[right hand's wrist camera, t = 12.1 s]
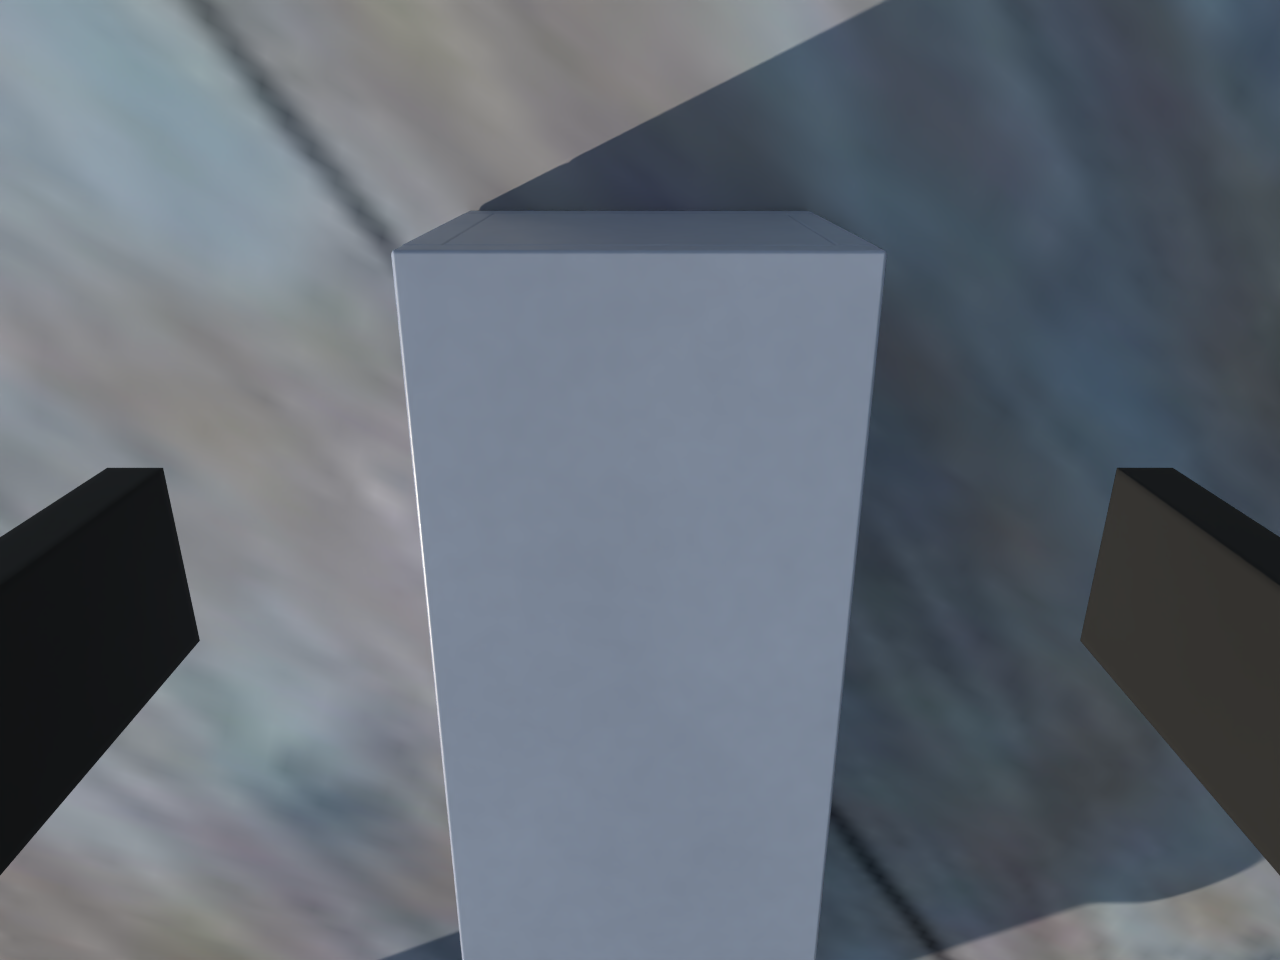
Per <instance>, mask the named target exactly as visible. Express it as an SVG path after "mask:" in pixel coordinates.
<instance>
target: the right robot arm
mask: <svg viewBox="0 0 1280 960" xmlns="http://www.w3.org/2000/svg"><path fill="white" fill-rule="evenodd" d="M199 641H200V640H199V635H198V630H197V626H196V621H195V616H194V612H193V607H192V602H191V597H190V593H189V588H188V583H187V579H186V574H185V569H184V565H183V560H182V555H181V550H180V546H179V541H178V536H177V532H176V527H175V522H174V518H173V513H172V508H171V503H170V499H169V494H168V489H167V485H166V480H165V475H164V471H163V468H106V469H105V470H103V471H102V472H100V473H99V474H97V475H96V476H94V477H93V478H91V479H89V480H88V481H86V482H85V483H83V484H82V485H80V486H79V487H77V488H76V489H74V490H72V491H71V492H69V493H68V494H66V495H65V496H63V497H62V498H60V499H59V500H57V501H55V502H54V503H52V504H51V505H49V506H48V507H46V508H45V509H43V510H42V511H40V512H39V513H37V514H35V515H34V516H32V517H31V518H29V519H28V520H26V521H25V522H23V523H22V524H20V525H18V526H17V527H15V528H14V529H12V530H11V531H9V532H8V533H6V534H5V535H3V536H2V537H0V875H1V874H2V873H3V871H4V870H5V869H6V868H7V867H8V866H9V864H10V863H11V862H12V861H13V860H14V858H15V857H16V856H17V855H18V854H19V853H20V851H21V850H22V849H23V848H24V847H25V846H26V844H27V843H28V842H29V841H30V840H31V838H32V837H33V836H34V835H35V834H36V833H37V831H38V830H39V829H40V828H41V827H42V826H43V824H44V823H45V822H46V821H47V820H48V818H49V817H50V816H51V815H52V814H53V813H54V811H55V810H56V809H57V808H58V807H59V806H60V804H61V803H62V802H63V801H64V800H65V798H66V797H67V796H68V795H69V794H70V793H71V791H72V790H73V789H74V788H75V787H76V786H77V784H78V783H79V782H80V781H81V780H82V778H83V777H84V776H85V775H86V774H87V773H88V771H89V770H90V769H91V768H92V767H93V766H94V764H95V763H96V762H97V761H98V760H99V758H100V757H101V756H102V755H103V754H104V753H105V751H106V750H107V749H108V748H109V747H110V746H111V744H112V743H113V742H114V741H115V740H116V738H117V737H118V736H119V735H120V734H121V733H122V731H123V730H124V729H125V728H126V727H127V726H128V724H129V723H130V722H131V721H132V720H133V718H134V717H135V716H136V715H137V714H138V713H139V711H140V710H141V709H142V708H143V707H144V706H145V704H146V703H147V702H148V701H149V700H150V698H151V697H152V696H153V695H154V694H155V693H156V691H157V690H158V689H159V688H160V687H161V686H162V684H163V683H164V682H165V681H166V680H167V678H168V677H169V676H170V675H171V674H172V673H173V671H174V670H175V669H176V668H177V667H178V666H179V664H180V663H181V662H182V661H183V660H184V658H185V657H186V656H187V655H188V654H189V653H190V651H191V650H192V649H193V648H194V647H195V646H196V644H197V643H198V642H199ZM1080 641H1081V642H1082V643H1083V644H1084V646H1085V647H1086V648H1087V649H1088V650H1089V651H1090V653H1091V654H1092V655H1093V656H1094V657H1095V658H1096V660H1097V661H1098V662H1099V663H1100V664H1101V666H1102V667H1103V668H1104V669H1105V670H1106V671H1107V673H1108V674H1109V675H1110V676H1111V677H1112V678H1113V680H1114V681H1115V682H1116V683H1117V684H1118V686H1119V687H1120V688H1121V689H1122V690H1123V691H1124V693H1125V694H1126V695H1127V696H1128V697H1129V698H1130V700H1131V701H1132V702H1133V703H1134V704H1135V706H1136V707H1137V708H1138V709H1139V710H1140V711H1141V713H1142V714H1143V715H1144V716H1145V717H1146V718H1147V720H1148V721H1149V722H1150V723H1151V724H1152V726H1153V727H1154V728H1155V729H1156V730H1157V731H1158V733H1159V734H1160V735H1161V736H1162V737H1163V738H1164V740H1165V741H1166V742H1167V743H1168V744H1169V746H1170V747H1171V748H1172V749H1173V750H1174V751H1175V753H1176V754H1177V755H1178V756H1179V757H1180V758H1181V760H1182V761H1183V762H1184V763H1185V764H1186V766H1187V767H1188V768H1189V769H1190V770H1191V771H1192V773H1193V774H1194V775H1195V776H1196V777H1197V778H1198V780H1199V781H1200V782H1201V783H1202V784H1203V786H1204V787H1205V788H1206V789H1207V790H1208V791H1209V793H1210V794H1211V795H1212V796H1213V797H1214V798H1215V800H1216V801H1217V802H1218V803H1219V804H1220V806H1221V807H1222V808H1223V809H1224V810H1225V811H1226V813H1227V814H1228V815H1229V816H1230V817H1231V818H1232V820H1233V821H1234V822H1235V823H1236V824H1237V826H1238V827H1239V828H1240V829H1241V830H1242V831H1243V833H1244V834H1245V835H1246V836H1247V837H1248V838H1249V840H1250V841H1251V842H1252V843H1253V844H1254V846H1255V847H1256V848H1257V849H1258V850H1259V851H1260V853H1261V854H1262V855H1263V856H1264V857H1265V858H1266V860H1267V861H1268V862H1269V863H1270V864H1271V866H1272V867H1273V868H1274V869H1275V870H1276V871H1277V873H1278V874H1279V875H1280V537H1278V536H1277V535H1275V534H1274V533H1272V532H1271V531H1269V530H1268V529H1266V528H1265V527H1263V526H1262V525H1260V524H1258V523H1257V522H1255V521H1254V520H1252V519H1251V518H1249V517H1248V516H1246V515H1245V514H1243V513H1241V512H1240V511H1238V510H1237V509H1235V508H1234V507H1232V506H1231V505H1229V504H1228V503H1226V502H1225V501H1223V500H1221V499H1220V498H1218V497H1217V496H1215V495H1214V494H1212V493H1211V492H1209V491H1208V490H1206V489H1204V488H1203V487H1201V486H1200V485H1198V484H1197V483H1195V482H1194V481H1192V480H1191V479H1189V478H1187V477H1186V476H1184V475H1183V474H1181V473H1180V472H1178V471H1177V470H1175V469H1174V468H1117V471H1116V475H1115V480H1114V485H1113V489H1112V494H1111V499H1110V503H1109V508H1108V513H1107V518H1106V522H1105V527H1104V532H1103V536H1102V541H1101V546H1100V550H1099V555H1098V560H1097V565H1096V569H1095V574H1094V579H1093V583H1092V588H1091V593H1090V597H1089V602H1088V607H1087V612H1086V616H1085V621H1084V626H1083V630H1082V635H1081V640H1080Z"/></svg>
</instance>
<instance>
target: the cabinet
mask: <svg viewBox="0 0 1280 960" xmlns="http://www.w3.org/2000/svg"><path fill="white" fill-rule="evenodd" d="M391 256H392V265H393V275H394V285H395V295H396V305H397V315H398V325H399V335H400V345H401V355H402V365H403V375H404V385H405V395H406V405H407V415H408V425H409V435H410V445H411V454H412V464H413V474H414V484H415V494H416V504H417V514H418V524H419V534H420V544H421V554H422V564H423V574H424V584H425V594H426V604H427V614H428V624H429V634H430V643H431V653H432V663H433V673H434V683H435V693H436V703H437V713H438V723H439V733H440V743H441V753H442V763H443V773H444V783H445V793H446V803H447V813H448V822H449V832H450V842H451V852H452V862H453V872H454V882H455V892H456V902H457V912H458V922H459V932H460V942H461V952H462V960H816V953H817V943H818V933H819V923H820V913H821V903H822V893H823V883H824V873H825V864H826V854H827V844H828V834H829V824H830V814H831V804H832V794H833V784H834V774H835V764H836V754H837V745H838V735H839V725H840V715H841V705H842V695H843V685H844V675H845V665H846V655H847V645H848V635H849V626H850V616H851V606H852V596H853V586H854V576H855V566H856V556H857V546H858V536H859V526H860V516H861V506H862V497H863V487H864V477H865V467H866V457H867V447H868V437H869V427H870V417H871V407H872V397H873V387H874V378H875V368H876V358H877V348H878V338H879V328H880V318H881V308H882V298H883V288H884V278H885V268H886V258H887V253H886V251H885V250H883V249H881V248H879V247H877V246H876V245H874V244H872V243H870V242H868V241H866V240H864V239H862V238H860V237H858V236H856V235H855V234H853V233H851V232H849V231H847V230H845V229H843V228H841V227H839V226H837V225H835V224H833V223H832V222H830V221H828V220H826V219H824V218H822V217H820V216H818V215H816V214H814V213H812V212H810V211H469V212H467V213H465V214H463V215H461V216H459V217H457V218H455V219H453V220H451V221H449V222H447V223H445V224H443V225H441V226H439V227H437V228H435V229H433V230H431V231H429V232H427V233H425V234H423V235H421V236H419V237H417V238H415V239H413V240H412V241H410V242H408V243H406V244H404V245H402V246H401V247H399V248H397V249H395V250H393V251H392V254H391Z"/></svg>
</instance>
